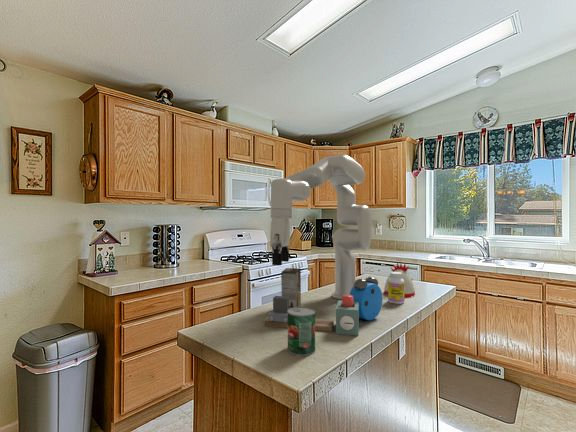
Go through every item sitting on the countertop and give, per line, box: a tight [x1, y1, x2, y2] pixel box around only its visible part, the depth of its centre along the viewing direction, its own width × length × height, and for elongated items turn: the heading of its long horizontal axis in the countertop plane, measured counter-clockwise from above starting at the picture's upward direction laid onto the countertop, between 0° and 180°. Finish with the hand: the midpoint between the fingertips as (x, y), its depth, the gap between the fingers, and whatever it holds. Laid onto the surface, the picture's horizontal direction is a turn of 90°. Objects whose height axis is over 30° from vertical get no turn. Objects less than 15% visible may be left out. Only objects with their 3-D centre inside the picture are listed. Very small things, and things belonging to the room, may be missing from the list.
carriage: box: [268, 295, 289, 323], centre depth 108 cm, size 8×7×7 cm
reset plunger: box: [341, 295, 353, 307], centre depth 103 cm, size 4×4×5 cm
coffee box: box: [280, 267, 302, 309], centre depth 124 cm, size 9×6×16 cm
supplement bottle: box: [387, 271, 405, 305], centre depth 134 cm, size 7×7×13 cm
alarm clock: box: [350, 276, 384, 321], centre depth 113 cm, size 13×6×15 cm, turn 130°
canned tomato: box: [287, 306, 316, 357], centre depth 87 cm, size 8×8×11 cm
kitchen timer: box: [383, 262, 416, 298], centre depth 149 cm, size 14×14×15 cm
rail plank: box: [264, 316, 335, 333], centre depth 107 cm, size 7×23×2 cm, turn 76°
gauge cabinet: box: [335, 299, 360, 336], centre depth 102 cm, size 10×7×8 cm, turn 166°
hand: (280, 263), depth 108 cm, fingers open, 9 cm apart
